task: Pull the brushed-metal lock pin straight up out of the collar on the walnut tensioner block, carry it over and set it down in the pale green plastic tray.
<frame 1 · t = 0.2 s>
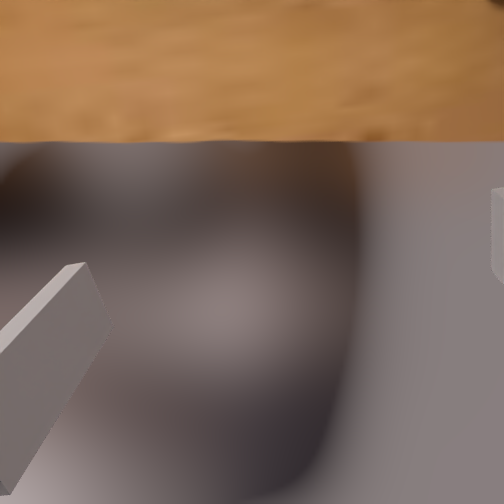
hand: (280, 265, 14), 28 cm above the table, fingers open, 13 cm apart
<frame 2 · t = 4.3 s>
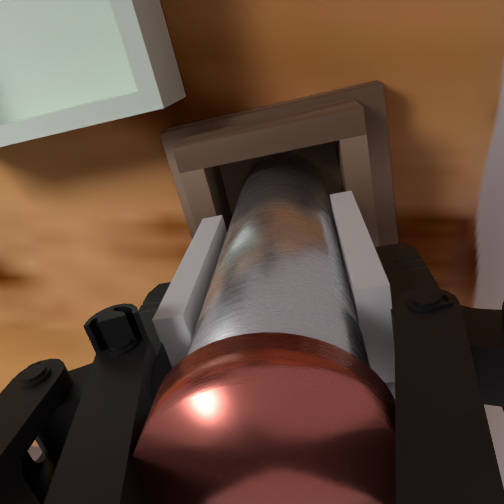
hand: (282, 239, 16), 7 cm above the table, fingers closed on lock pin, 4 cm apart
lock pin: (284, 195, 21), point 1 cm above the table, touching gripper, tensioner block
tensioner block: (291, 222, 23), on the table
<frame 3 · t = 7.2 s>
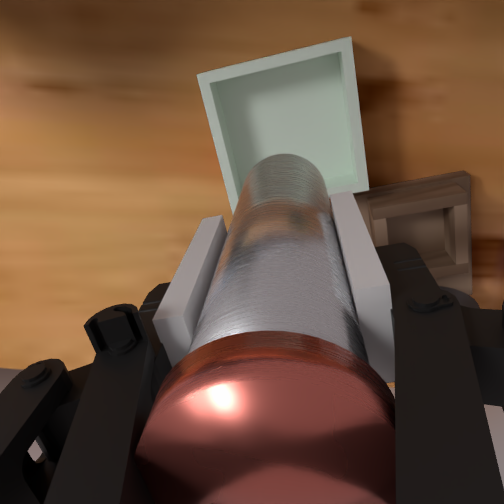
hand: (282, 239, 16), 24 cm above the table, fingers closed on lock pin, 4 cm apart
lock pin: (284, 195, 21), point 19 cm above the table, touching gripper
tray: (286, 126, 38), on the table
tensioner block: (410, 241, 42), on the table
when the fingers open (8 cm above the table, at t = 10.3 s): lock pin stays where it is, resting on tray.
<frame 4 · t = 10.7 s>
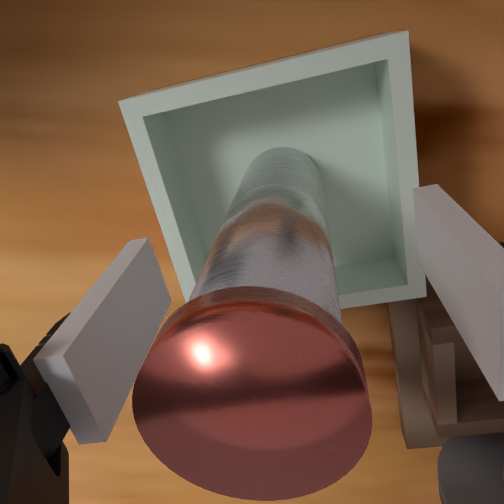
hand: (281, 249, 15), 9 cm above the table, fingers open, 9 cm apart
lock pin: (282, 186, 22), point 1 cm above the table, touching tray
tray: (284, 180, 23), on the table
tensioner block: (477, 352, 27), on the table
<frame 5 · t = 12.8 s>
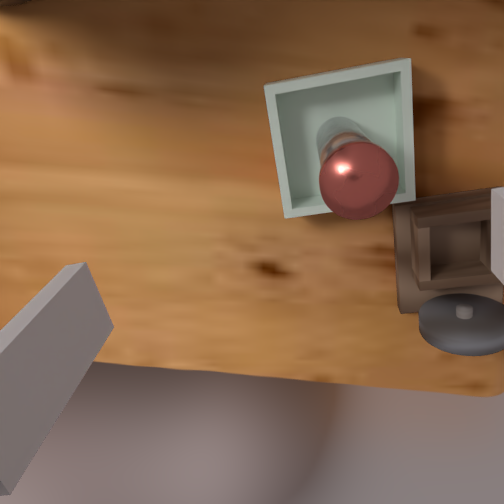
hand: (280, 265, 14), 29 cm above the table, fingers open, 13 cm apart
lock pin: (338, 139, 40), point 1 cm above the table, touching tray
tray: (338, 137, 40), on the table
tensioner block: (445, 250, 44), on the table
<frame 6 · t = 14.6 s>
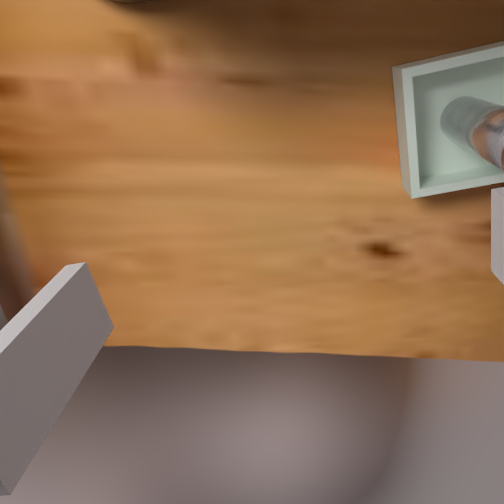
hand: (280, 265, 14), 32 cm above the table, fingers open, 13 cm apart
lock pin: (462, 118, 40), point 1 cm above the table, touching tray
tray: (459, 116, 41), on the table
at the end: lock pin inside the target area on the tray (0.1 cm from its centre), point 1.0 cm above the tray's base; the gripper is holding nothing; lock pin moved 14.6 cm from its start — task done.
